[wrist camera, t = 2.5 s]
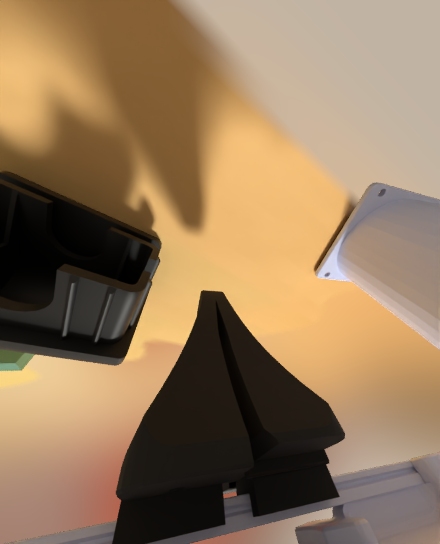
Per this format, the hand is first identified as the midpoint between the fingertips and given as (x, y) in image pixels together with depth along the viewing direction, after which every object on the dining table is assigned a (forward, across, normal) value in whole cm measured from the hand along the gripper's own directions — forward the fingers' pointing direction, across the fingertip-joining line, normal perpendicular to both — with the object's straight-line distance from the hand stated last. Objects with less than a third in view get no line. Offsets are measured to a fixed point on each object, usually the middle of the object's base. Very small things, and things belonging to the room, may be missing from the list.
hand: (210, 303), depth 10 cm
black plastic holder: (+5, +9, 0) cm, 10 cm away
